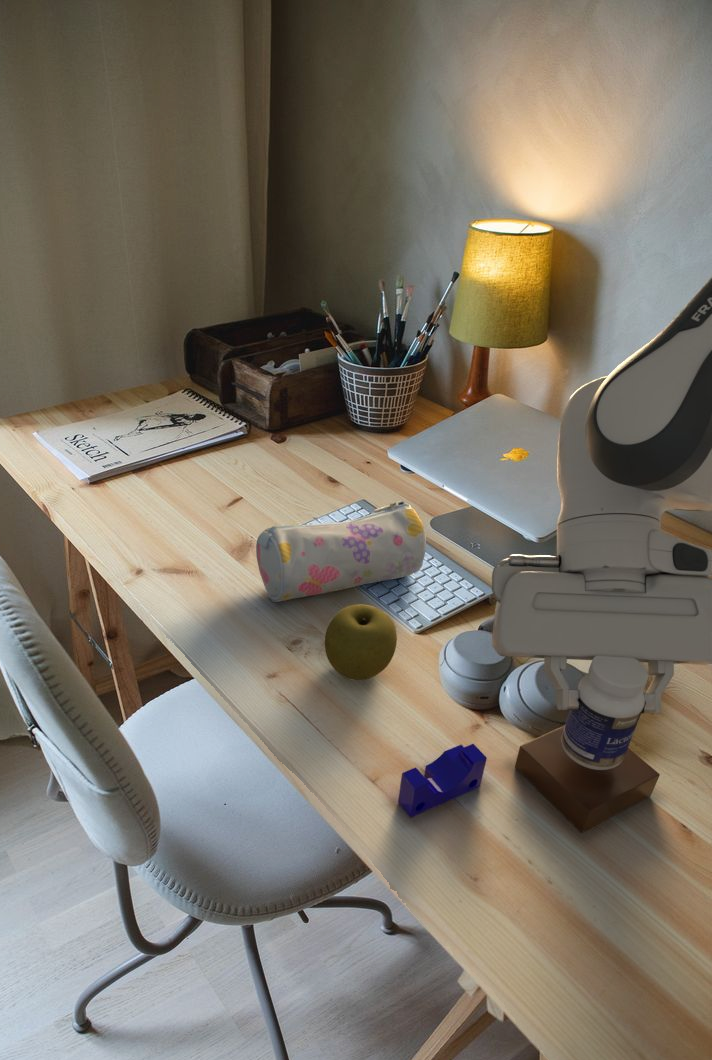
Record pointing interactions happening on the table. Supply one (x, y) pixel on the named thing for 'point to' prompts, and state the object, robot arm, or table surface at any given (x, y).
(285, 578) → the pencil case
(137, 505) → the table surface
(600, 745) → the pill bottle
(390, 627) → the apple
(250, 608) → the table surface
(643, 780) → the block
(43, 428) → the table surface
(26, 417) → the table surface
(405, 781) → the cable holder
